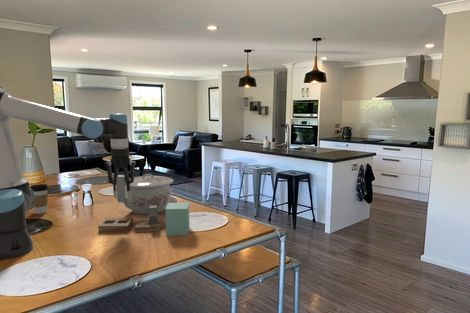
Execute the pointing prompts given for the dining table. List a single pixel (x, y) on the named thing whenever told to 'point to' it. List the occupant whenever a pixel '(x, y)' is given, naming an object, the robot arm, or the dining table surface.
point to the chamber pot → (148, 193)
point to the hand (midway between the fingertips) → (122, 197)
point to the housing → (177, 219)
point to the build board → (115, 225)
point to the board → (148, 227)
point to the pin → (121, 188)
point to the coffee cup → (40, 198)
